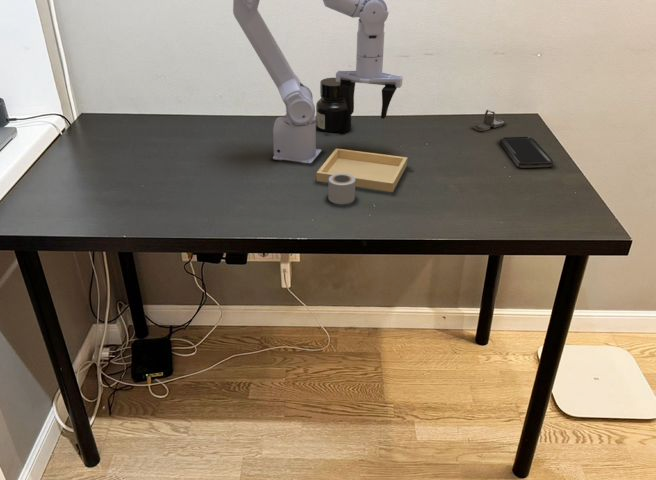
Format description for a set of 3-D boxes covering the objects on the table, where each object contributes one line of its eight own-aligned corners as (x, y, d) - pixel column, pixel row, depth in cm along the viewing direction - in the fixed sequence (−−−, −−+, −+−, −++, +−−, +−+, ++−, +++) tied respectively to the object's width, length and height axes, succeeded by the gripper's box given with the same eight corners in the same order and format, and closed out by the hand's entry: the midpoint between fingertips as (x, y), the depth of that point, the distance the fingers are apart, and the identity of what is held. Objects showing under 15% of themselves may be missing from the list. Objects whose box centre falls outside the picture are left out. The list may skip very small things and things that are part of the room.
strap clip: (495, 121, 167) (498, 105, 165) (504, 125, 165) (507, 108, 163) (471, 128, 163) (473, 112, 161) (480, 132, 161) (482, 115, 159)
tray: (316, 183, 139) (316, 172, 138) (335, 158, 150) (335, 148, 148) (392, 194, 134) (393, 183, 133) (406, 168, 145) (407, 157, 143)
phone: (531, 136, 155) (554, 162, 143) (530, 141, 156) (553, 167, 143) (498, 137, 155) (518, 163, 143) (498, 142, 156) (518, 168, 143)
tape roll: (324, 204, 131) (324, 182, 128) (332, 192, 135) (333, 171, 133) (350, 208, 130) (351, 186, 127) (357, 196, 134) (358, 174, 131)
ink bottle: (319, 120, 170) (319, 75, 163) (353, 122, 168) (354, 76, 162) (313, 134, 162) (312, 87, 155) (348, 136, 160) (349, 88, 154)
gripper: (331, 56, 138) (331, 117, 145) (398, 62, 134) (394, 125, 141) (341, 47, 143) (340, 107, 151) (406, 53, 139) (401, 114, 147)
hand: (367, 115), depth 146 cm, fingers open, 7 cm apart
